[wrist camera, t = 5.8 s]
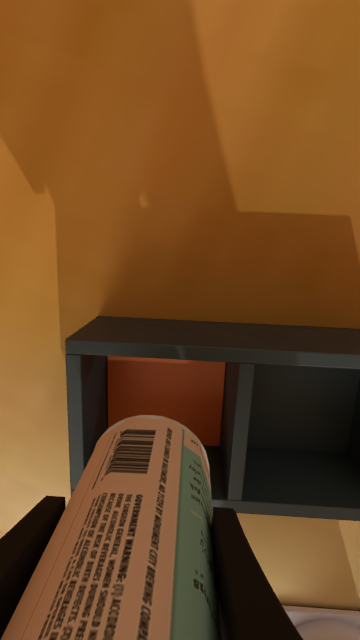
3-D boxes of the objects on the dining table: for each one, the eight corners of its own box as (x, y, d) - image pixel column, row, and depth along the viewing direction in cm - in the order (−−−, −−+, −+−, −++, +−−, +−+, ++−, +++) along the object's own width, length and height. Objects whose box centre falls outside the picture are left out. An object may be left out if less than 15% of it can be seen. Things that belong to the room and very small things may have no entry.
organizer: (352, 458, 20) (401, 524, 16) (99, 442, 21) (70, 502, 16) (374, 329, 19) (439, 358, 14) (97, 315, 19) (64, 338, 14)
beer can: (73, 467, 14) (-596, 1687, 2) (139, 385, 13) (-412, 1761, 1) (163, 527, 14) (25, 1794, 3) (232, 453, 13) (505, 1908, 2)
